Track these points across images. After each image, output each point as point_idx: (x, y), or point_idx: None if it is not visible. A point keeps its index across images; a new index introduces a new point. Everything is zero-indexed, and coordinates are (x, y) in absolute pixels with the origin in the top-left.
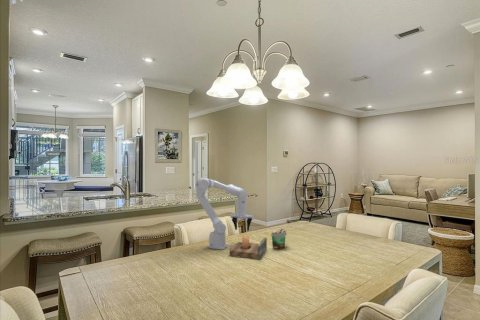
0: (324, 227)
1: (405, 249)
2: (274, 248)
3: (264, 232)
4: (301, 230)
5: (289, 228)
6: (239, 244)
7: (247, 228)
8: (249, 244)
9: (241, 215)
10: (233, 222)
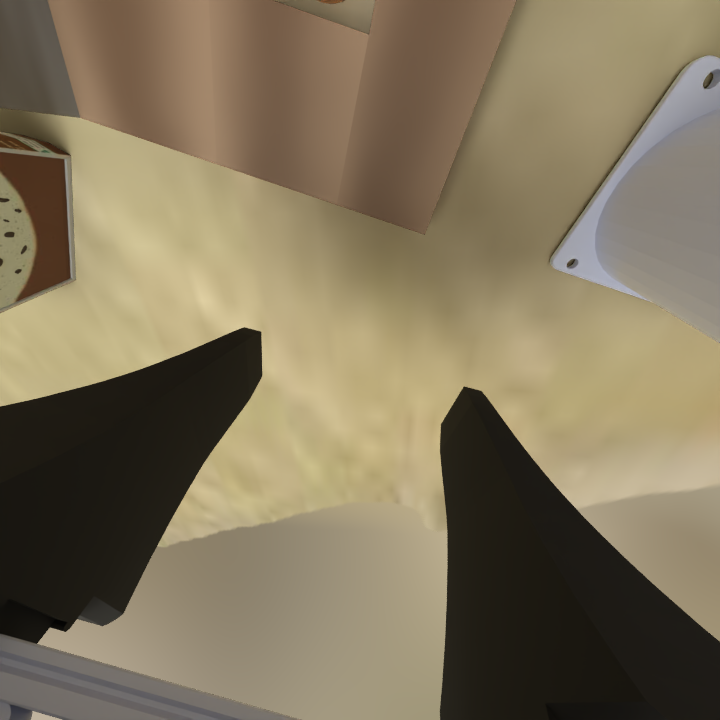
0: None
1: None
2: (40, 142)
3: (259, 488)
4: None
5: None
6: (421, 86)
7: (228, 344)
8: (264, 98)
9: None
10: (615, 558)
